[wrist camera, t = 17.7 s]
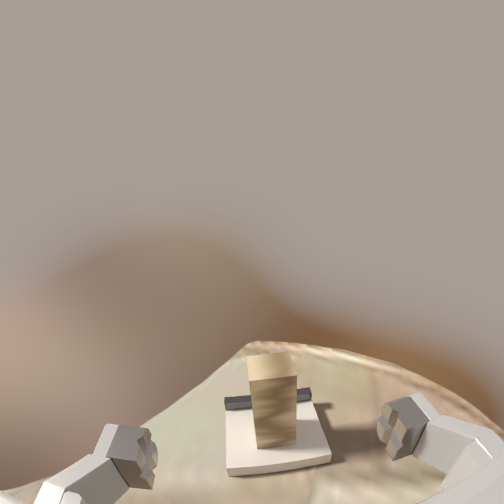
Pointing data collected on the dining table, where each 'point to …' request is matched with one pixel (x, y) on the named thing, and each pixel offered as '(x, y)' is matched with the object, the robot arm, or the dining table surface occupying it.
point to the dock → (277, 458)
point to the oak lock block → (273, 399)
